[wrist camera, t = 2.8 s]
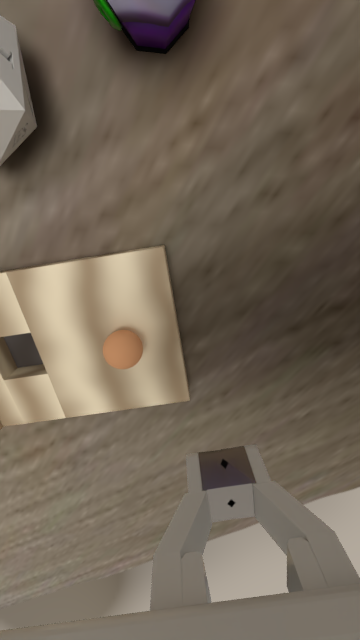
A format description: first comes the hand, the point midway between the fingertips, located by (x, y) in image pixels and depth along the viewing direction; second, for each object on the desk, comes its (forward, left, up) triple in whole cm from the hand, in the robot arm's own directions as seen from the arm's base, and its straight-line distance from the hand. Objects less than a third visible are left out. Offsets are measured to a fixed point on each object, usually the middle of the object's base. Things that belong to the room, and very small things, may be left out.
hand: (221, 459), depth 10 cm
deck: (+13, 0, -16) cm, 20 cm away
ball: (+7, 0, -14) cm, 15 cm away
